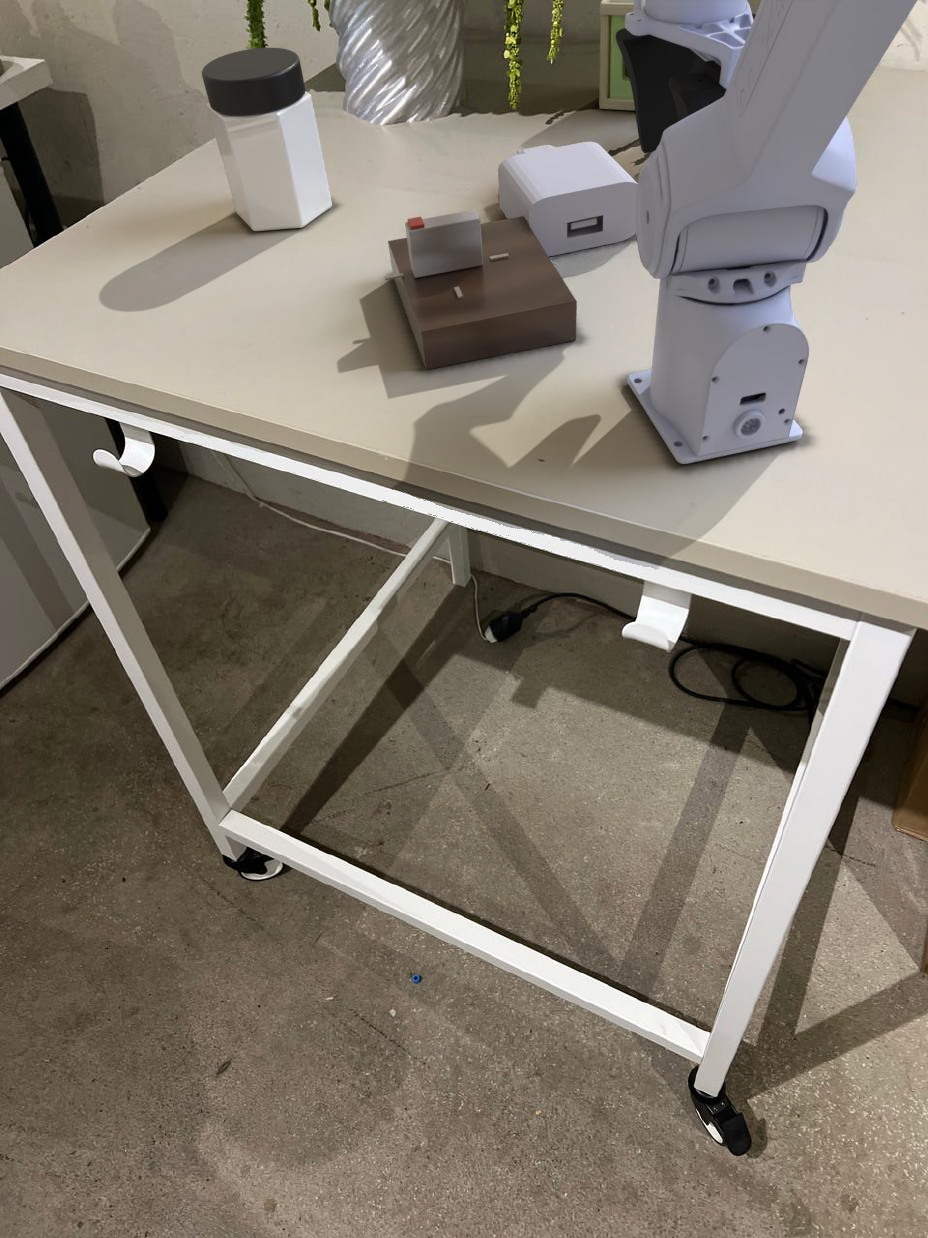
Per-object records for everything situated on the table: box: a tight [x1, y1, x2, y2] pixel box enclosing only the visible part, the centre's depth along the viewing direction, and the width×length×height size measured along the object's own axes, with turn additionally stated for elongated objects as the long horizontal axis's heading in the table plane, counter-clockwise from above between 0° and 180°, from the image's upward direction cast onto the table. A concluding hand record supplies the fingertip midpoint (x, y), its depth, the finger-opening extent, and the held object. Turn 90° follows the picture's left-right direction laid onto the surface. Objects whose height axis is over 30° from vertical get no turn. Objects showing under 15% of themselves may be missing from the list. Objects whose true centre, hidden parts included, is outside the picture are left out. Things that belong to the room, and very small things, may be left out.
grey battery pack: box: [404, 209, 483, 278], centre depth 63 cm, size 5×2×4 cm, turn 103°
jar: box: [201, 47, 333, 232], centre depth 75 cm, size 9×8×12 cm
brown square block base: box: [384, 216, 578, 370], centre depth 65 cm, size 14×12×3 cm
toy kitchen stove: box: [598, 0, 635, 111], centre depth 85 cm, size 8×7×13 cm
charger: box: [497, 141, 638, 257], centre depth 74 cm, size 5×9×15 cm
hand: (677, 171), depth 57 cm, fingers open, 7 cm apart
